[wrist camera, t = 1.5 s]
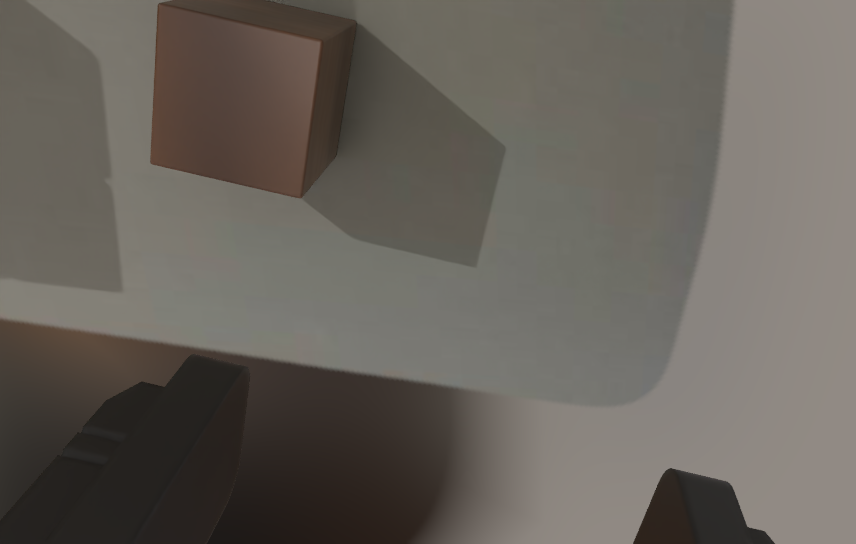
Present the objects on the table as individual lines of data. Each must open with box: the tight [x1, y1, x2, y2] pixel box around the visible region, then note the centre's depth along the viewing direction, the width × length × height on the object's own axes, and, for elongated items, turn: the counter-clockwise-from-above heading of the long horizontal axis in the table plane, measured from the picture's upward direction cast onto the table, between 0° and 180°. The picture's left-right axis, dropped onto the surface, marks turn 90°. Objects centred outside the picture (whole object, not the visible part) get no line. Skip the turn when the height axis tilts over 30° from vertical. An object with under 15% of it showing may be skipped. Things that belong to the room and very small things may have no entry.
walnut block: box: [150, 0, 357, 198], centre depth 26 cm, size 5×5×5 cm
